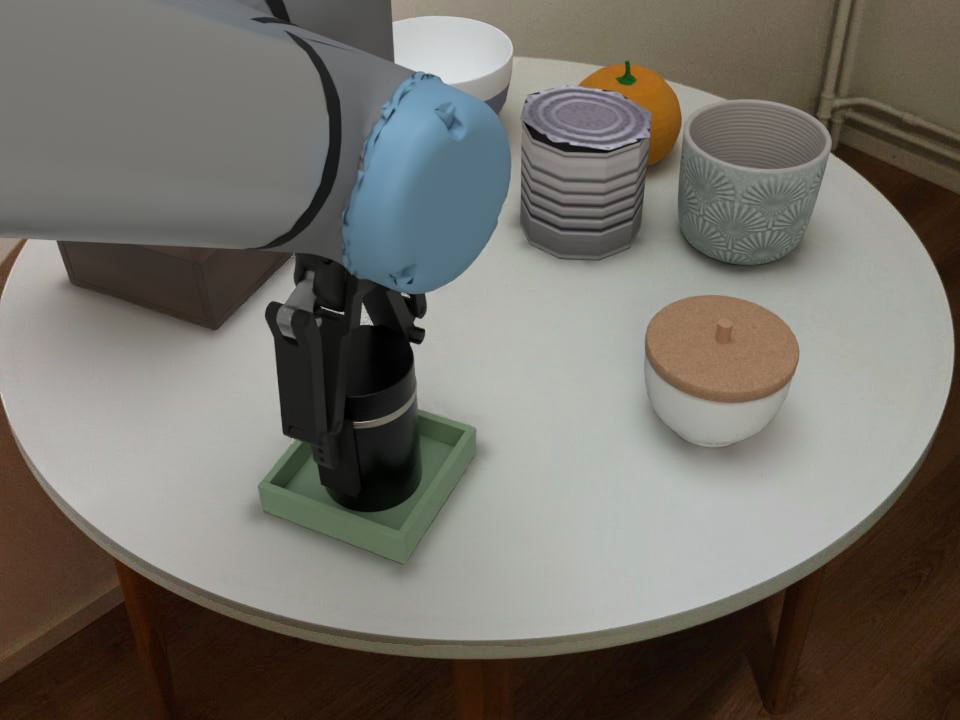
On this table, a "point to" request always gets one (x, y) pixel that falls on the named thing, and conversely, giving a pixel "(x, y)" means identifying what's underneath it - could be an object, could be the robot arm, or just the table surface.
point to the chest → (172, 277)
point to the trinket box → (718, 368)
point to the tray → (385, 532)
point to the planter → (750, 179)
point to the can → (582, 171)
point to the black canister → (382, 419)
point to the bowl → (457, 54)
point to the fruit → (644, 102)
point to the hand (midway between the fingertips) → (369, 448)
